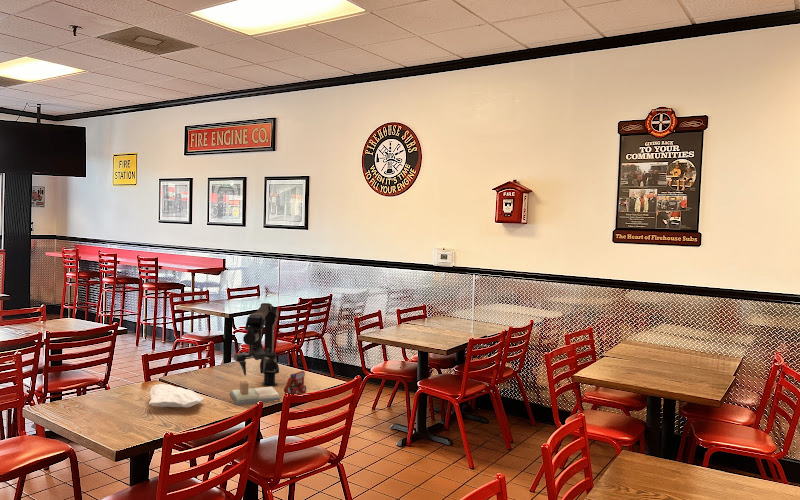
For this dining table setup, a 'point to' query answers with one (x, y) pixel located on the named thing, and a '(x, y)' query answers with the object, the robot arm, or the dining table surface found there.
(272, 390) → the board
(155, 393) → the white rock
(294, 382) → the toy fire truck
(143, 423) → the dining table surface
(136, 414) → the dining table surface
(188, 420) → the dining table surface
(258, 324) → the robot arm
